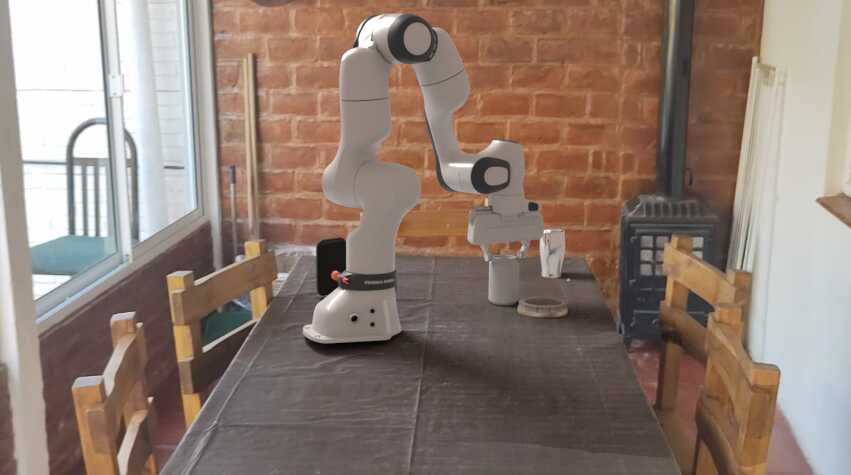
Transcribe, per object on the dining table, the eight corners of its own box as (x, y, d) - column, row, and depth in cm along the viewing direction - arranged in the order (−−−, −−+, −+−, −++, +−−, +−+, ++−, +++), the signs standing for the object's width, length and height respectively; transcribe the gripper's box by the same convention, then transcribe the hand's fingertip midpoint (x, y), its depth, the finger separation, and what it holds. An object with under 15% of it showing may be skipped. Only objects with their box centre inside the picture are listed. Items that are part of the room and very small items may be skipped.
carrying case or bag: (345, 290, 241) (345, 235, 239) (353, 292, 239) (352, 236, 236) (313, 296, 233) (313, 239, 231) (321, 298, 231) (320, 241, 229)
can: (518, 300, 231) (519, 253, 229) (518, 306, 224) (519, 259, 222) (488, 299, 232) (489, 253, 230) (487, 305, 225) (488, 258, 223)
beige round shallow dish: (534, 319, 211) (534, 309, 211) (508, 308, 222) (508, 298, 221) (577, 314, 216) (577, 304, 216) (549, 304, 227) (550, 294, 226)
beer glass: (558, 287, 247) (559, 233, 245) (534, 284, 250) (536, 231, 248) (567, 283, 253) (569, 230, 250) (544, 280, 256) (545, 228, 254)
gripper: (475, 208, 217) (474, 265, 219) (547, 204, 226) (546, 258, 228) (463, 205, 223) (462, 260, 225) (534, 201, 231) (533, 254, 234)
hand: (505, 259), depth 226 cm, fingers open, 8 cm apart
